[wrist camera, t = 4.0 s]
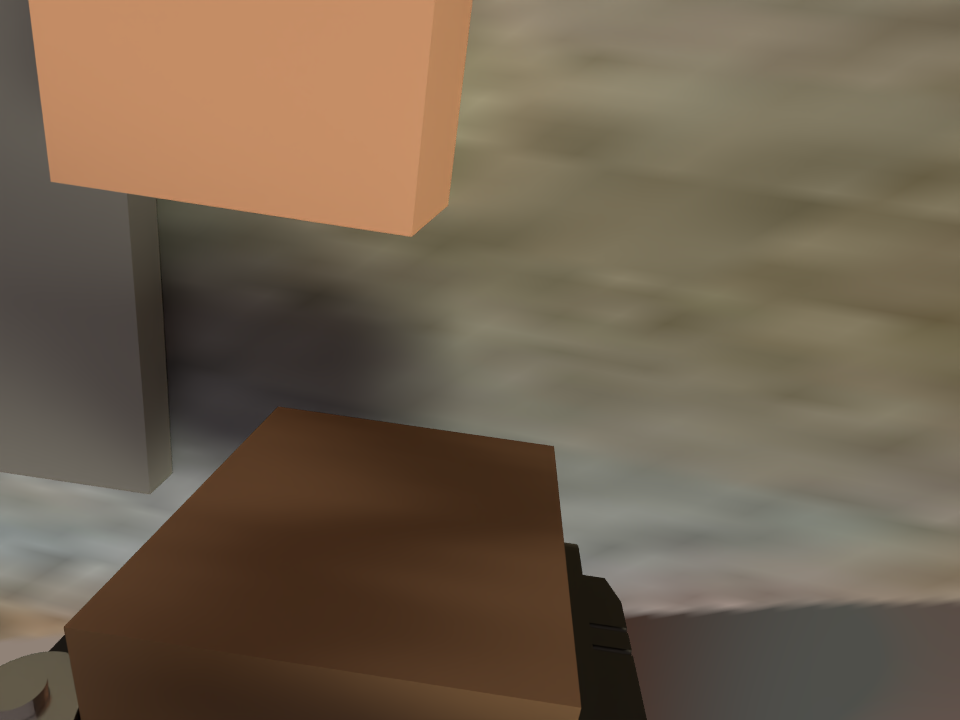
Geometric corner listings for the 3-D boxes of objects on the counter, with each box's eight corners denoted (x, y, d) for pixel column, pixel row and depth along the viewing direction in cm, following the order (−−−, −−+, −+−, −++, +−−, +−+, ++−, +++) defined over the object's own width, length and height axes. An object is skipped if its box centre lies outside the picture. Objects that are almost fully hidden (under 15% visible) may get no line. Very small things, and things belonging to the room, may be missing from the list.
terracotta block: (480, -64, 11) (458, -237, 6) (448, 205, 12) (411, 237, 8) (220, -105, 11) (-10, -310, 6) (225, 171, 12) (51, 181, 8)
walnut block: (553, 446, 10) (581, 708, 5) (513, 654, 12) (507, 990, 7) (277, 406, 10) (63, 626, 5) (279, 618, 12) (118, 924, 7)
